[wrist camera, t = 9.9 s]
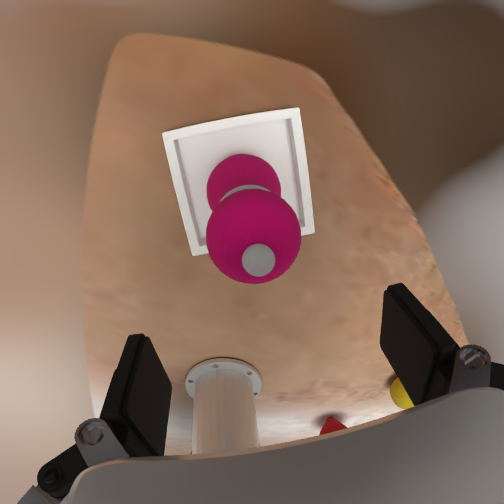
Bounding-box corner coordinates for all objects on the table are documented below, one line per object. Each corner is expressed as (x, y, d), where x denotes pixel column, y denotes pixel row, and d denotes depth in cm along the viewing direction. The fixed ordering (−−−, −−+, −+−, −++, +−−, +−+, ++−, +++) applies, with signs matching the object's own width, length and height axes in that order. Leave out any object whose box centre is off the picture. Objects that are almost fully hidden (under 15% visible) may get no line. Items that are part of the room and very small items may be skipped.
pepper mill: (285, 166, 34) (353, 235, 16) (256, 221, 36) (286, 337, 18) (225, 138, 32) (224, 174, 14) (198, 196, 34) (170, 297, 16)
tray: (308, 223, 38) (314, 233, 35) (194, 245, 38) (192, 256, 35) (293, 107, 32) (299, 107, 29) (167, 131, 32) (161, 133, 29)
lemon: (380, 387, 54) (394, 418, 47) (392, 368, 52) (408, 399, 44) (401, 385, 55) (416, 414, 47) (413, 366, 52) (431, 395, 45)
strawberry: (332, 428, 59) (343, 465, 50) (307, 422, 56) (316, 462, 47) (351, 413, 57) (364, 451, 48) (327, 406, 55) (339, 448, 46)
